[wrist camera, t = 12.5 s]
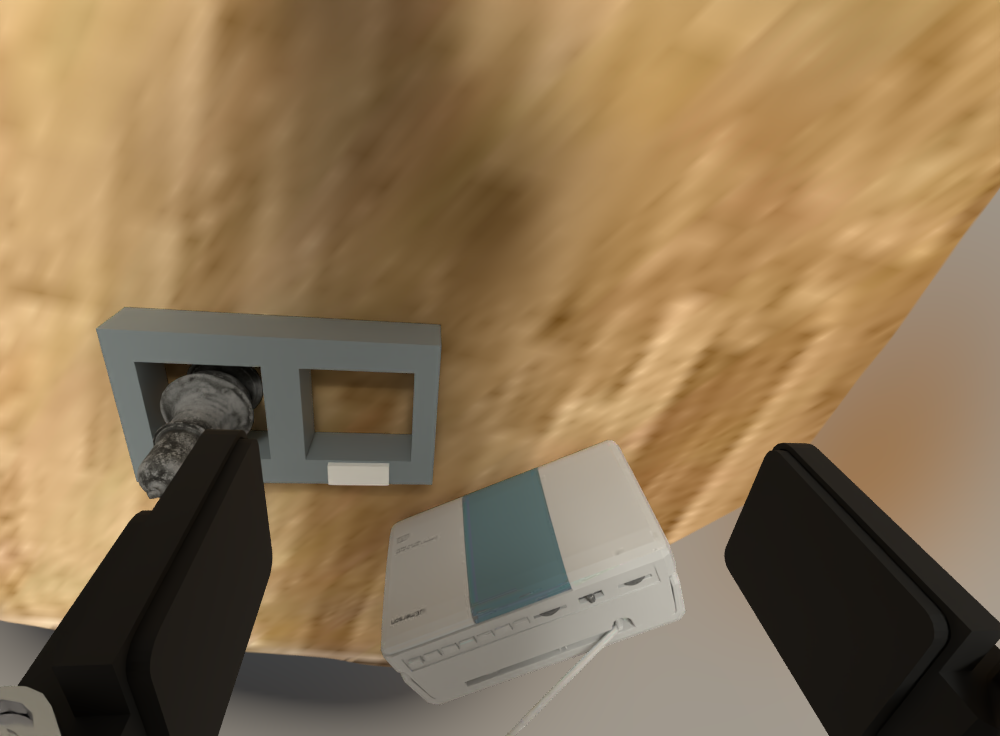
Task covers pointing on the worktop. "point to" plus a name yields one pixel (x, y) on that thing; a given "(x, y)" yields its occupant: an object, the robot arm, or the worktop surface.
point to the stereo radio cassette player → (526, 578)
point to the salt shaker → (198, 417)
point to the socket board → (281, 386)
